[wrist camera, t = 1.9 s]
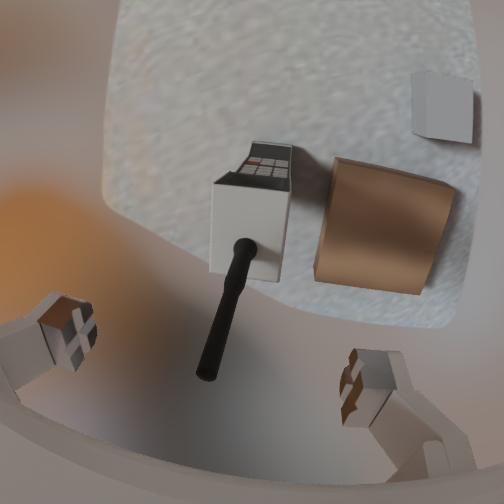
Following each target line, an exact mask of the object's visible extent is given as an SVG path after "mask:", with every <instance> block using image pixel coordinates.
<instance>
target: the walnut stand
mask: <svg viewBox="0 0 504 504" xmlns="http://www.w3.org/2000/svg"><path fill="white" fill-rule="evenodd" d="M454 194H455V189H453V188H452V187H451V186H449V185H448V184H446V183H444V182H442V181H439V180H435V179H431V178H428V177H424V176H420V175H416V174H412V173H408V172H404V171H399V170H395V169H391V168H386V167H382V166H377V165H373V164H368V163H363V162H358V161H353V160H348V159H343V158H338V157H335V160H334V166H333V172H332V177H331V183H330V188H329V193H328V199H327V204H326V209H325V214H324V219H323V224H322V229H321V234H320V239H319V243H318V248H317V253H316V257H315V262H314V266H313V267H314V278H315V281H317V282H324V283H331V284H338V285H345V286H353V287H360V288H367V289H375V290H382V291H390V292H397V293H405V294H413V295H420V294H421V292H422V289H423V287H424V284H425V282H426V279H427V276H428V274H429V271H430V269H431V266H432V263H433V260H434V258H435V255H436V252H437V249H438V246H439V243H440V240H441V237H442V234H443V231H444V228H445V225H446V222H447V219H448V215H449V212H450V208H451V205H452V201H453V198H454Z"/></svg>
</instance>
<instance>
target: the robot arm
mask: <svg viewBox="0 0 504 504" xmlns="http://www.w3.org/2000/svg"><path fill="white" fill-rule="evenodd" d="M92 314H93V308H92V304H91V303H89V302H88V301H84V300H81V299H77V298H74V297H71V296H68V295H63V294H60V293H57V292H51V293H49V294H48V295H47V296H46V297H45V298H44V299H43V300H42V301H41V302H40V303H39V304H38V305H37V306H36V307H35V308H34V309H33V310H32V311H31V312H30V313H29V314H28V315H27V316H26V317H20V318H17V319H14V320H12V321H9V322H6V323H3V324H1V325H0V504H504V462H503V463H500V464H496V465H492V466H489V467H484V468H481V469H477V467H476V463H475V459H474V456H473V453H472V449H471V446H470V443H469V440H468V437H467V435H466V434H465V433H464V432H463V431H461V429H459V428H458V427H457V426H456V425H455V424H454V423H453V422H452V421H451V420H450V419H449V418H448V417H446V416H445V415H444V414H443V413H442V412H441V411H440V410H439V409H438V408H437V407H436V406H435V405H433V404H432V403H431V402H430V401H429V400H428V399H427V398H426V397H425V396H424V395H423V394H421V393H420V392H419V391H418V390H414V388H413V386H412V382H411V379H410V376H409V373H408V370H407V367H406V364H405V360H404V358H403V354H402V353H401V352H400V351H381V350H366V349H355V348H354V349H353V350H352V352H351V354H350V356H349V364H350V365H348V366H347V367H345V368H344V371H343V373H342V376H341V380H340V391H339V392H340V398H341V399H342V400H343V401H344V404H343V406H342V408H341V415H342V426H346V427H347V426H348V427H365V428H366V427H367V428H369V430H370V432H371V433H372V434H373V436H374V437H375V439H376V440H377V441H378V443H379V444H380V446H381V447H382V448H383V450H384V451H385V453H386V454H387V455H388V457H389V458H390V459H391V461H392V462H393V464H394V465H395V466H396V468H397V469H398V471H397V472H396V473H395V474H393V475H392V476H391V477H390V478H389V479H388V480H387V481H386V482H385V483H379V484H357V485H323V484H300V483H286V482H275V481H266V480H258V479H249V478H243V477H236V476H230V475H224V474H218V473H214V472H208V471H204V470H199V469H194V468H190V467H185V466H181V465H177V464H173V463H169V462H166V461H162V460H158V459H155V458H151V457H148V456H145V455H141V454H138V453H135V452H132V451H129V450H126V449H123V448H120V447H117V446H114V445H111V444H109V443H105V442H103V441H100V440H98V439H95V438H92V437H90V436H88V435H85V434H83V433H80V432H78V431H76V430H73V429H71V428H69V427H66V426H64V425H62V424H60V423H58V422H56V421H54V420H51V419H49V418H47V417H45V416H43V415H41V414H39V413H37V412H35V411H33V410H31V409H29V408H28V407H26V406H24V405H22V404H21V401H20V399H19V397H18V396H17V394H16V392H15V390H17V389H19V388H20V387H22V386H23V385H25V384H27V383H29V382H30V381H32V380H34V379H35V378H37V377H39V376H40V375H42V374H44V373H45V372H47V371H49V370H50V369H52V368H54V367H55V365H56V366H59V367H61V368H65V369H67V370H70V371H73V372H76V371H77V369H78V367H79V366H80V365H81V363H82V362H83V361H84V359H85V358H84V353H85V352H87V351H90V350H91V349H92V347H93V346H94V344H95V342H96V338H97V326H96V323H95V321H94V320H93V319H92V317H91V316H92Z"/></svg>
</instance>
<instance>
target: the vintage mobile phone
mask: <svg viewBox="0 0 504 504" xmlns="http://www.w3.org/2000/svg"><path fill="white" fill-rule="evenodd" d="M291 156H292V145H287V144H279V143H270V142H260V141H252V143H251V146H250V150H249V154H248V156H247V158H246V159H245V160H244V161H243V163H242V164H241V165H240V166H239V168H238V169H237V170H236V171H235V172H231V171H229V172H228V173H226V174H225V175H223V176H222V177H221V178H219V179H218V180H216V181H215V182H214V183H213V184H212V197H211V225H210V264H209V272H210V273H211V274H218V275H225V276H226V278H225V282H224V293H223V296H222V298H221V301H220V304H219V307H218V310H217V313H216V316H215V319H214V321H213V324H212V327H211V330H210V333H209V336H208V339H207V342H206V344H205V347H204V350H203V353H202V356H201V359H200V362H199V365H198V368H197V371H196V375H197V376H198V377H199V378H200V379H202V380H204V381H214V380H215V379H216V377H217V373H218V370H219V366H220V363H221V359H222V355H223V352H224V348H225V344H226V340H227V337H228V334H229V330H230V326H231V322H232V319H233V315H234V312H235V308H236V304H237V301H238V297H239V295H240V294H241V292H242V290H243V289H244V286H245V283H246V279H254V280H262V281H269V282H277V283H278V282H279V281H280V274H281V267H282V260H283V253H284V246H285V239H286V232H287V224H288V217H289V209H290V201H291V194H292V190H291Z"/></svg>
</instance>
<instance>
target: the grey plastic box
mask: <svg viewBox="0 0 504 504" xmlns="http://www.w3.org/2000/svg"><path fill="white" fill-rule="evenodd" d="M411 83H412V131H411V133H414V134H417V135H420V136H423V137H426V138H434V139H443V140H450V141H457V142H464V143H471V144H472V132H473V80H468V79H464V78H460V77H455V76H450V75H445V74H440V73H435V72H429V71H423V72H417V73H412V74H411Z"/></svg>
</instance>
